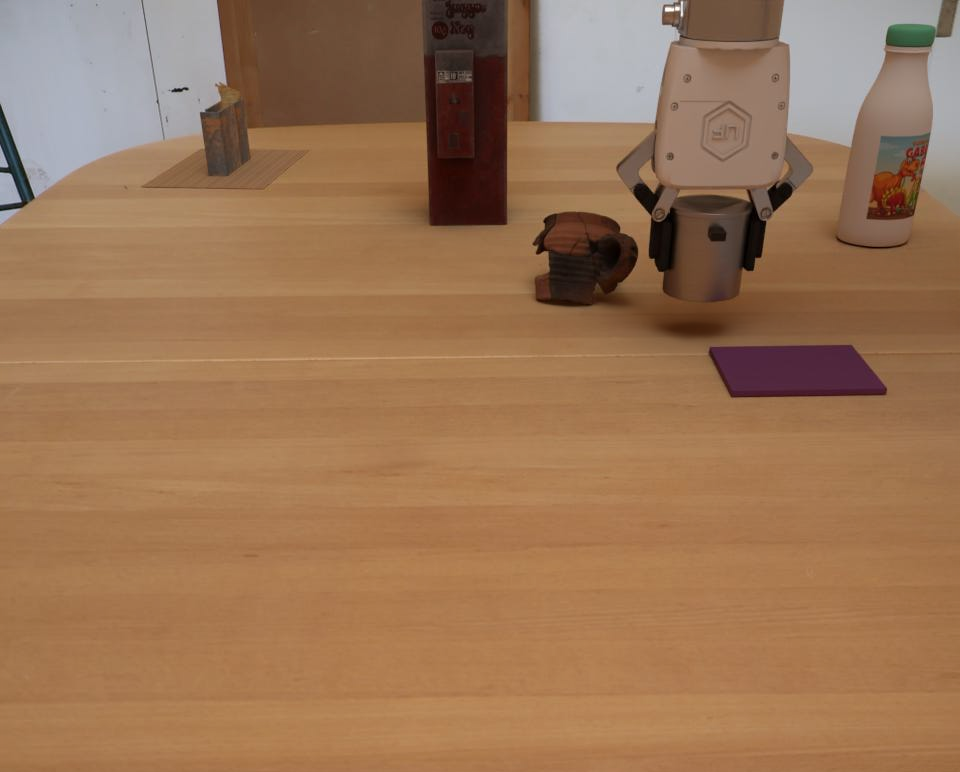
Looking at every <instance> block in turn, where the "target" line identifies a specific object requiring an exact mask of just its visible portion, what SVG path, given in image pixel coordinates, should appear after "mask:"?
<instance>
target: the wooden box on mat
mask: <svg viewBox="0 0 960 772" xmlns="http://www.w3.org/2000/svg"><path fill="white" fill-rule="evenodd" d="M218 83H219V84H218ZM218 83H214V86H215V88H217V91H218V94H219V97H220V100H219V101H218V102H216V103H215V104H213V105H211V106H209V107H207V108H205V109H204V111H199V115H200V116H199V117H200V125H201V131H202V132H201V133H202V140H203V145H204V148H200V149H198V150H196V151H195V152H193V153H192V154H190V155H189V156H187V157H186V158H184V159H182V160H181V161H179V162H178V163H177V164H176V163H175V165H173V166H171V167H170V168H168V169H167V170H165V171H164V172H162V173H160V174H159V175H157V176H155V177H154V178H152V179H151V180H150V181H148V182H147V183H146V182H145V184H143V185H142V186H141V188H185V189H186V188H187V189H188V188H189V189H190V188H191V189H243V190H244V189H245V190H246V189H247V190H248V189H249V190H264V189H265V188H266V187H267V186H269V185H270V184H271V183H272V182H273V181H275V180H276V179H277V178H278V177H279V176H280V175H281V174H283V173H284V172H285V171H286V170H288V169H289V168H290V167H291V166H292V165H294V163H296V162H297V161H298V160H299V159H301V157H303V156H304V155H305V154H306V153H308V152H309V149H256V148H255V149H254V148H252V149H250V143H249V142H250V141H249V133H248V132H249V131H248V125H247V117H246V109H245V108H246V107H245V99H244V97H241V92H240V91H239V90H236V89H234V88H232V87H230V86H228V85H226V84H225V83H222V82H221V81H219V82H218Z"/></svg>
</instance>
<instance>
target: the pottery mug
mask: <svg viewBox="0 0 960 772" xmlns="http://www.w3.org/2000/svg"><path fill="white" fill-rule="evenodd" d="M542 223H543V224H544V229H543V230H541V231H540V232H539V234H538V235H537V236H536V237H535V238H534V241H532V246H534V247H537V248H536V250H535V255H537V256H538V255H541V254H542V253H544V252H547V254H548V255H547V256H548V267H549V270H548V272H546V273H542V274H539V275H536V276H535V277H534V286H535V287H534V290H535V300H536V301H548V300H561V301H563V302H567V303H568V302H569V303H578V304H585V305H589V306H590V305H592V304H593V300H594V293H596V288H597V285H598V286H599V287H600V289H601V291H602V292H603V293H604V294H605V295H608V294H611V293H613V292H615V291H616V290H617V287H618V285H619V284H620V283H623V282H624V281H625V280H626V279H627V278H628V277H629V276H630V274H631V273H632V272H633V270H634V268H635V267H636V265H637V262H638V259H639V246H638V244H637V242H636V240H635V239H634V237H633V236H631V235H628V234H626V233H623V232H621V229H622V228H621V225H620V224H619V223H618V222H617V221H616V220H615V219H613V218H612V217H609V216H607V215H603V214H599V213H594V212H587V211H574V210H573V211H562V212H558V213H557V212H556V213H555V212H554V213H551V214H549V215H547V216H546V217H544V218H543V220H542Z"/></svg>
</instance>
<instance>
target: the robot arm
mask: <svg viewBox="0 0 960 772" xmlns="http://www.w3.org/2000/svg"><path fill="white" fill-rule="evenodd" d="M784 6H785V0H677V2H673V3H672V4H663V6H662V10H661V11H662V12H661V25H662V26H671V28H675V29H676V30H677V33H678V34H679V37H678V40H674V41H671V42H670V45H669V47H668V52H667V56H666V59H665V63H664V68H663V72H662V77H661V82H660V88H659V94H658V100H657V107H656V112H655V119H654V125H653V126H654V128H653V131H651V132H650V133H649V134H648V135H647V136H646V137H645V138H643V140H642V141H641V142H639V144H637V145H636V146H635V147H634V148H633V149H632V150H631V151H630V152H629V153H628V154H627V155H625V156H624V157H623V158H622V160H620V161H619V162H618V163H617V164H616V166H615V171H616V174H617V175H618V177H619V178H620V179H621V181H622V182H623V183H624V185H625V186H626V187H627V189H628V190H629V191H630V192H631V194H632V195H633V196H634V198H635V199H636V200H637V202H638V203H639V204H640V205H641V207H643V208H644V210H645V211H646V212H647V213H648V214H649V216H650V229H649V239H648V240H649V241H648V258H649V260H654V266H655V267H656V269H657V272H658V273H664V272H665V270H668V261H669V251H670V240H671V230H672V223H671V221H670V220H669V210H670V208H671V207H672V205H673V203H674V201H675V199H676V197H678V195H679V193H680V191H683V190H688V191H689V190H690V191H694V190H695V191H696V190H697V191H700V190H701V191H703V190H706V191H708V190H712V191H713V190H714V191H715V190H718V191H719V190H745V191H746V194H747V199H748V201H749V202H750V203H751V204H752V205H753V209H752V212H751V213H750V217H749V225H748V232H747V240H746V247H745V255H744V262H743V270H745V271H746V272H754V271H755V264H756V259H761V258H762V255H763V251H764V242H765V236H766V229H767V221H769V220H771V219H772V217H773V215H774V213H775V212H776V211H777V210H778V209H779V208H780V207H782V205H783V204H784V203H786V202H787V201H788V200H789V199H790V198H791V197H792V196H793V193H794V192H795V191H796V190H797V189H798V188H799V187H801V185H803V183H805V181H806V180H807V179H808V178H809V177H811V175H812V174H813V172H814V166H813V164H812V163H811V162H810V161H809V160H808V159H807V157H806V156H805V155H804V154H803V153H802V152H801V150H800V149H799V148H798V147H797V146H796V145H795V143H794V142H793V141H792V140H791V139H790V138H789V136H788V134H787V133H788V122H789V121H788V120H789V108H790V89H791V88H790V87H791V52H790V44H788V43H786V42H784V41H780V35H781V28H782V21H783V14H784ZM649 161H650V164H651V170H652V172H653V173H654V175H655V178H656V179H657V180H658V184H657V186H656V188H655V190H654V191H653V190H652V189H651V188H650V187H649V186H648V184H647V183H646V182H645V181H644V180H643V178H642V177H641V176H640V173H639V172H640V169H641V168H642V167H643V166H644V165H646V164H647V162H649ZM785 162H786V164H787V165H788V170H787V171H786V173H785V174H784V176H783V177H781V176H782V173H783V169H784V163H785ZM767 188H769V189H767Z"/></svg>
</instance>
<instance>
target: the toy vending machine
mask: <svg viewBox="0 0 960 772" xmlns="http://www.w3.org/2000/svg"><path fill="white" fill-rule="evenodd" d="M421 12H422V13H421V16H422V19H421V20H422V42H423V43H422V44H423V45H422V46H423V72H424V102H425V105H424V106H425V129H426V130H425V131H426V157H427V158H426V159H427V161H426V162H427V184H428V186H427V187H428V213H429V214H428V215H429V226H478V225H479V226H497V225H501V226H503V225H508V84H509V83H508V81H509V80H508V77H509V76H508V70H509V69H508V68H509V67H508V65H509V64H508V61H509V59H508V58H509V57H508V55H509V54H508V53H509V52H508V51H509V50H508V47H509V46H508V45H509V43H508V41H509V40H508V39H509V32H508V31H509V30H508V28H509V0H421Z"/></svg>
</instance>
